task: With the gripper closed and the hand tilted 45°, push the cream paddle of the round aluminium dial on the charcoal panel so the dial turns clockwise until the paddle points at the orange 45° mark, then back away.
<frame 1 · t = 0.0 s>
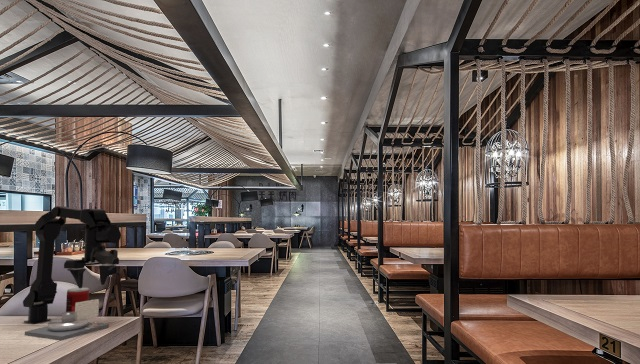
hand: (91, 286, 153), 15 cm above the table, tool pointing down, fingers open, 9 cm apart
dial: (75, 314, 150), point 5 cm above the table, hinge at 0.0°
canned food: (76, 317, 171), on the table
panel: (68, 331, 147), on the table
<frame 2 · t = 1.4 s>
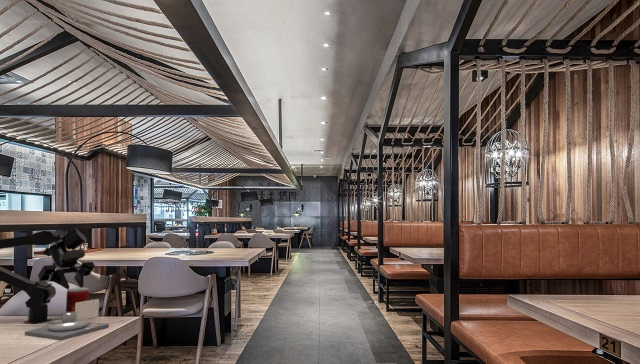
hand: (75, 287, 158), 14 cm above the table, tool tilted 45°, fingers open, 5 cm apart
nothing on the table moved.
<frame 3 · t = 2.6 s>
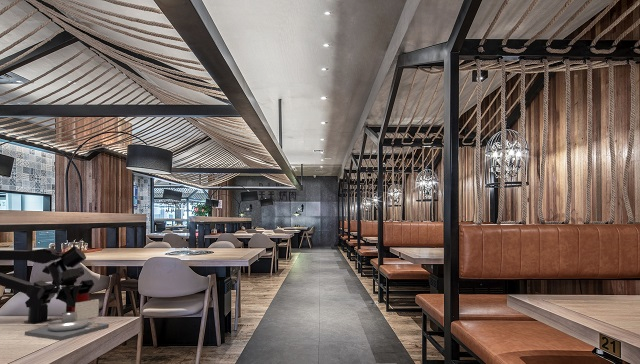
hand: (74, 306, 157), 7 cm above the table, tool tilted 45°, fingers closed
nothing on the table moved.
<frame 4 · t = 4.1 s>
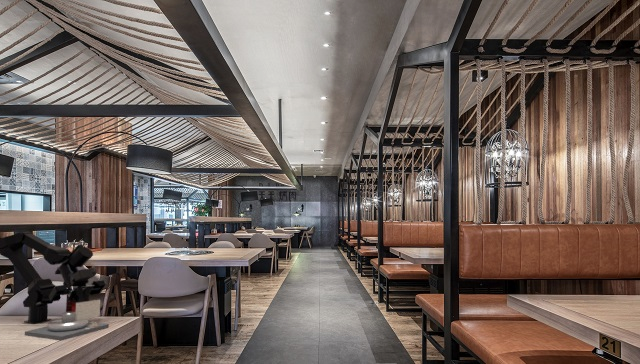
hand: (87, 308, 154), 7 cm above the table, tool tilted 45°, fingers closed, pressing on dial
dial: (75, 314, 149), point 5 cm above the table, hinge at 5.8°, touching gripper
everything else where it was.
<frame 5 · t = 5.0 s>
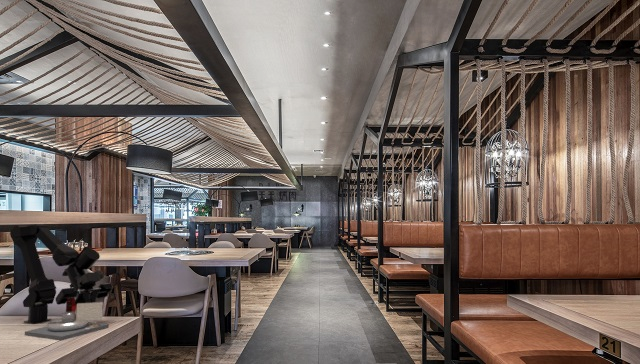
hand: (93, 312, 151), 6 cm above the table, tool tilted 45°, fingers closed
dial: (76, 314, 148), point 5 cm above the table, hinge at 41.4°, touching gripper
everything else where it was.
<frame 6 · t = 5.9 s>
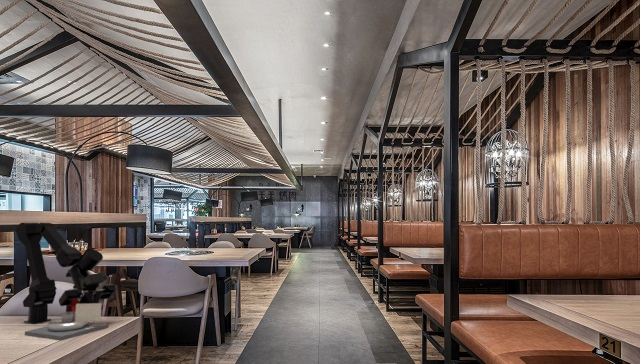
hand: (97, 313, 150), 5 cm above the table, tool tilted 40°, fingers closed
dial: (75, 315, 148), point 5 cm above the table, hinge at 52.9°, touching gripper
everything else where it was.
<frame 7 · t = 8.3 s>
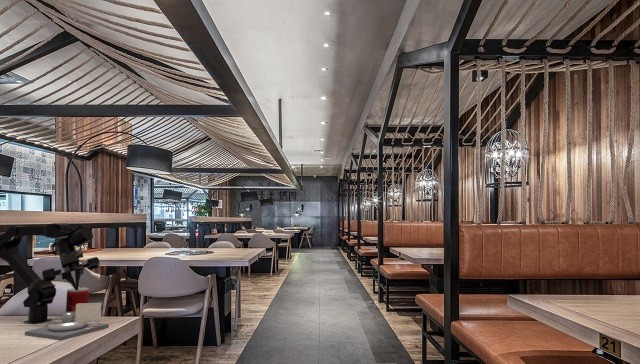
hand: (77, 289, 157), 13 cm above the table, tool tilted 30°, fingers closed
dial: (75, 315, 148), point 5 cm above the table, hinge at 53.1°
everything else where it was.
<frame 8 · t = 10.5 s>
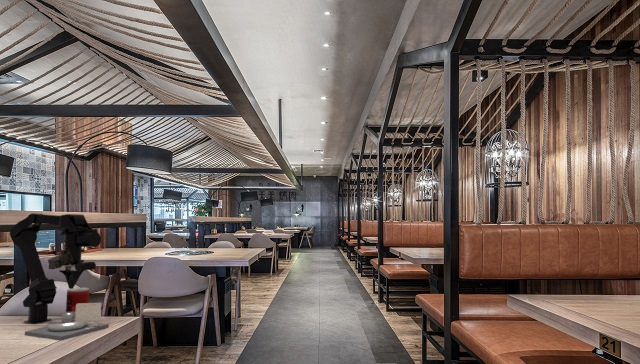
hand: (71, 288, 160), 13 cm above the table, tool pointing down, fingers closed
nothing on the table moved.
at the end: dial at +53° (first picture: +0°) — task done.
